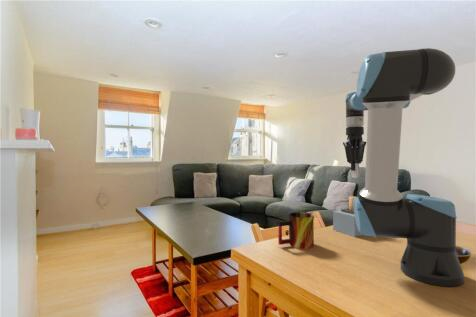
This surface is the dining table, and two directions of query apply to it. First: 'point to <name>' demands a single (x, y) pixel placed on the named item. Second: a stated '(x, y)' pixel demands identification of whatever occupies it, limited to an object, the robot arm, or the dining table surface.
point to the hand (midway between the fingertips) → (354, 177)
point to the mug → (298, 230)
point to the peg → (351, 203)
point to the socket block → (345, 222)
